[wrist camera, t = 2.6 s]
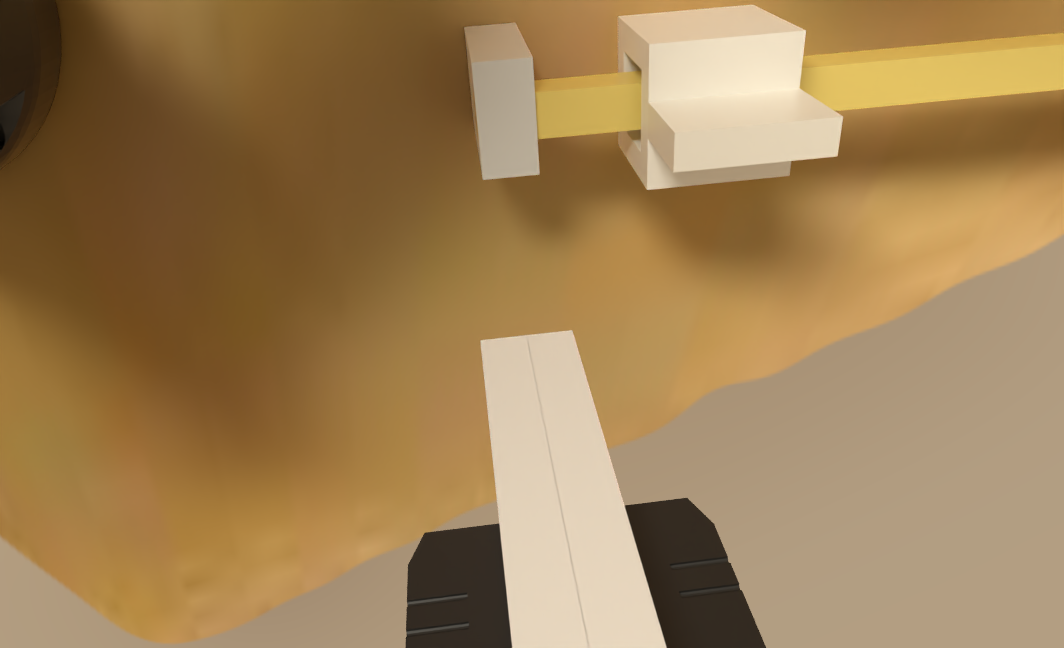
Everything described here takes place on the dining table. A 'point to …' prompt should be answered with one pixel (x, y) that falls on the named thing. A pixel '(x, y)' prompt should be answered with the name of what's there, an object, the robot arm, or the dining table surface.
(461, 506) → the dining table surface
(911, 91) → the rail
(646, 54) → the sleeve
